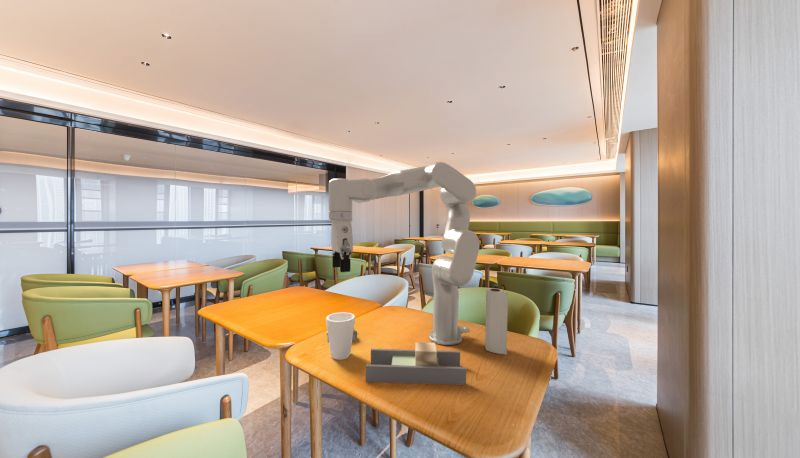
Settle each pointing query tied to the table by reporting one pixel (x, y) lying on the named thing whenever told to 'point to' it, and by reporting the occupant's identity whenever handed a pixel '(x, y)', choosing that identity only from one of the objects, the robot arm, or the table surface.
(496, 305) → the paper towel roll
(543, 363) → the table surface
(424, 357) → the maple block
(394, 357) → the pad
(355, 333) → the egg carton
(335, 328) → the foam cup
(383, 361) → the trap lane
